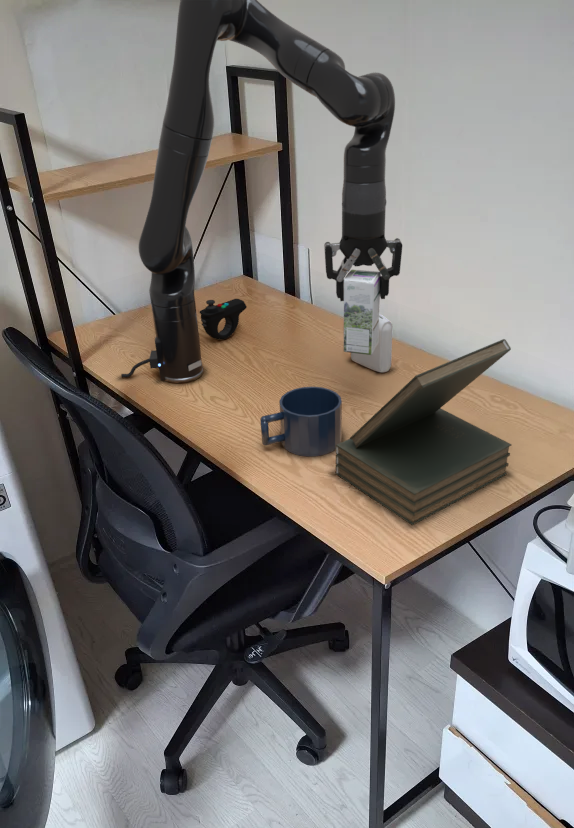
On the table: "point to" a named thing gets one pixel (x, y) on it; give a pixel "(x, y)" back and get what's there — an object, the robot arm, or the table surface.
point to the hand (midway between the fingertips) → (362, 298)
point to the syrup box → (361, 311)
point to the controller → (218, 312)
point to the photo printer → (378, 349)
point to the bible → (425, 444)
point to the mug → (307, 421)
